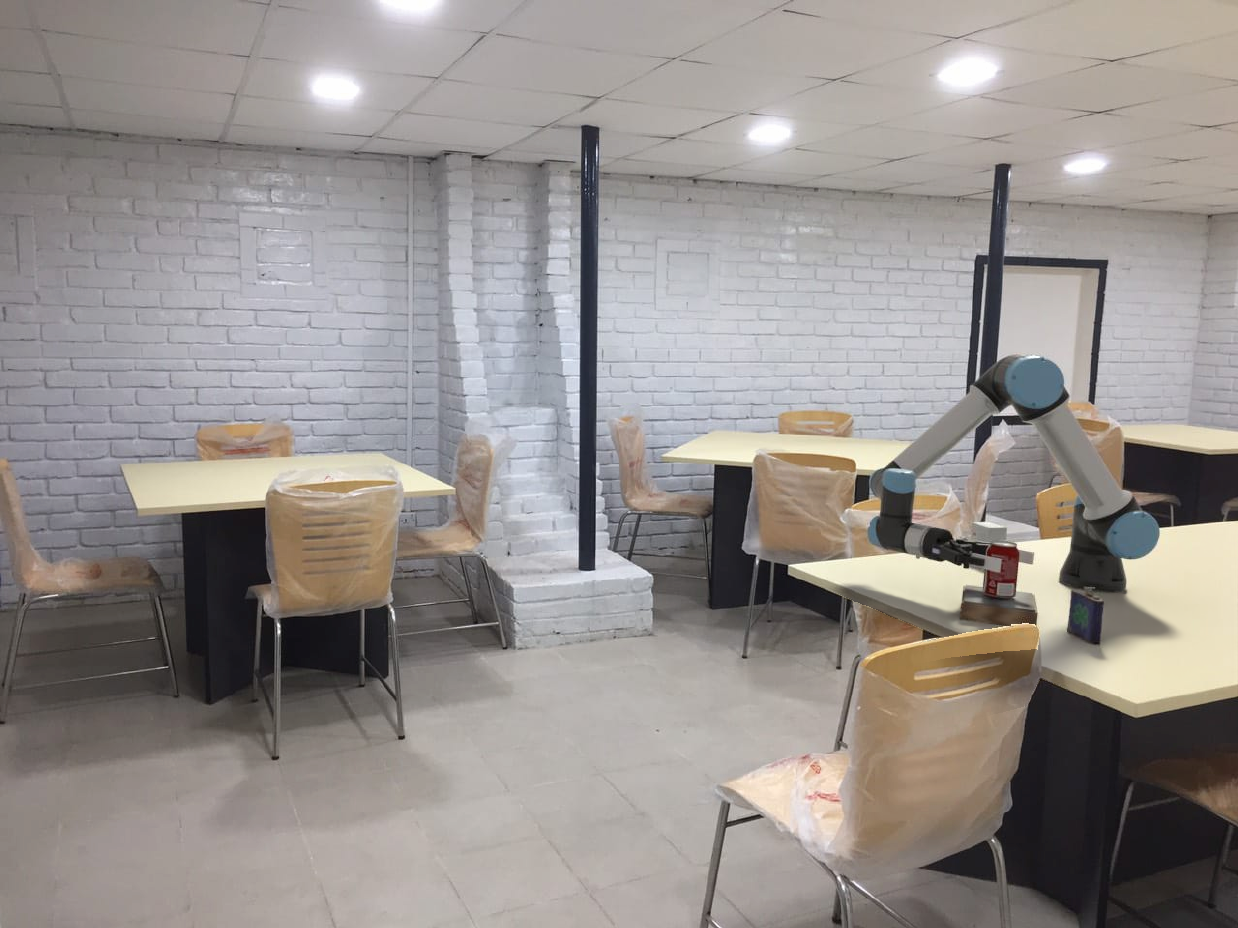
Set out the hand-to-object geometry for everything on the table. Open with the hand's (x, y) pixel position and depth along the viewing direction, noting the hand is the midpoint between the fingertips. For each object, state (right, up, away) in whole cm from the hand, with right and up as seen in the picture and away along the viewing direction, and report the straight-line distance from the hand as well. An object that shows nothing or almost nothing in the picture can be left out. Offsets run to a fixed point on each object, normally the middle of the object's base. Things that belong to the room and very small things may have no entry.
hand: (1017, 562), depth 208 cm
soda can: (-2, -8, +4) cm, 9 cm away
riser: (-3, -12, +4) cm, 13 cm away
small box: (+14, -6, +55) cm, 57 cm away
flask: (+10, -15, -10) cm, 20 cm away
